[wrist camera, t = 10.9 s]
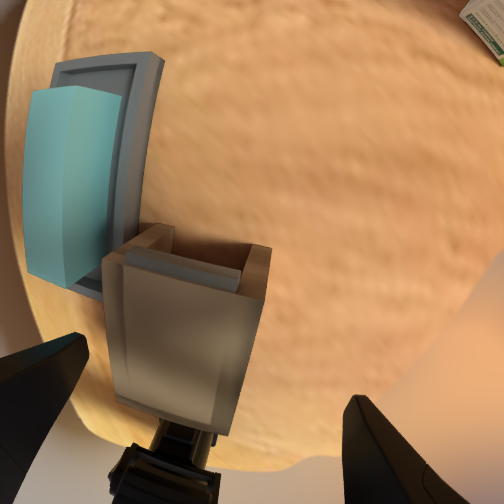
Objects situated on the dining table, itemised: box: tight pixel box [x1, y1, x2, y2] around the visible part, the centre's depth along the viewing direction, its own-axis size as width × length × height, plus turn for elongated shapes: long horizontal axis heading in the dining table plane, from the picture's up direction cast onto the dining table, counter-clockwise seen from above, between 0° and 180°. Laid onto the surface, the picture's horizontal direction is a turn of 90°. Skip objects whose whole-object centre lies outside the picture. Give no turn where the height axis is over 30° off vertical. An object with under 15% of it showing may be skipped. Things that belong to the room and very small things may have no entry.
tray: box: [50, 52, 165, 302], centre depth 17 cm, size 18×9×2 cm, turn 169°
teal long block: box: [22, 86, 122, 289], centre depth 15 cm, size 12×4×5 cm, turn 168°
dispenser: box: [102, 223, 272, 436], centre depth 18 cm, size 12×8×7 cm
